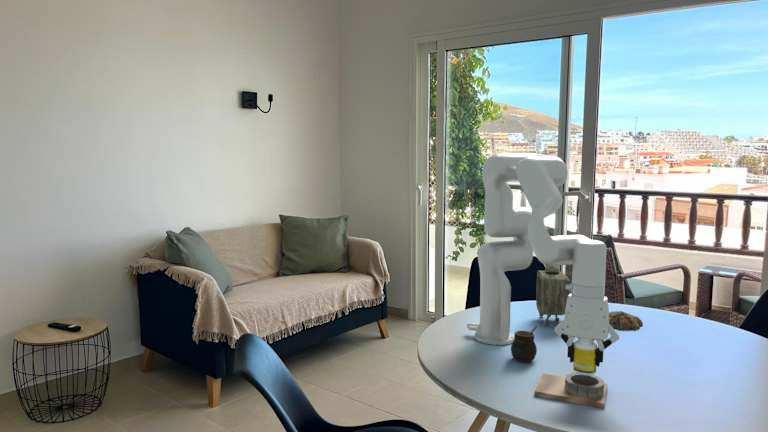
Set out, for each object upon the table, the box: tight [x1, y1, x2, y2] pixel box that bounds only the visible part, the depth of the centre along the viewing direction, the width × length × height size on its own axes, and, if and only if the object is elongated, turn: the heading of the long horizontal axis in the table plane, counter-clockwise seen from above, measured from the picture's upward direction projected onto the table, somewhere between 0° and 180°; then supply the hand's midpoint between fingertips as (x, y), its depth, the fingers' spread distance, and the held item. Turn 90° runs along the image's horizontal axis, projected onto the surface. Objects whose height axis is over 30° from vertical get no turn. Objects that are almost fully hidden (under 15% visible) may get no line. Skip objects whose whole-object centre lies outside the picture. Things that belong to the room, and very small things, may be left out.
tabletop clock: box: [535, 265, 570, 327], centre depth 193 cm, size 14×9×25 cm, turn 172°
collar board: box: [534, 372, 608, 409], centre depth 137 cm, size 16×12×4 cm
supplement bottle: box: [572, 338, 598, 376], centre depth 135 cm, size 5×5×10 cm
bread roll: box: [609, 310, 644, 332], centre depth 190 cm, size 13×12×5 cm
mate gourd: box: [510, 325, 538, 363], centre depth 158 cm, size 7×8×10 cm
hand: (584, 361), depth 135 cm, fingers closed on supplement bottle, 5 cm apart
